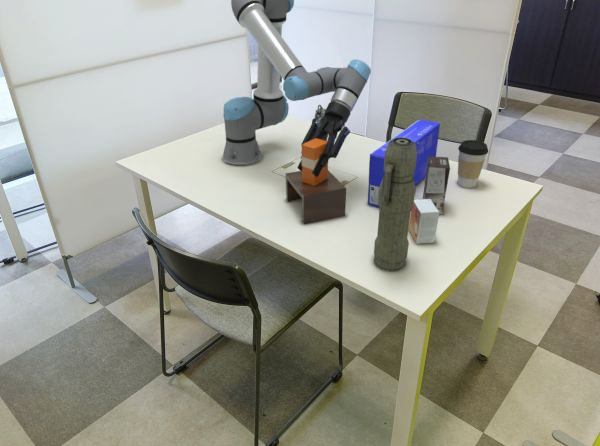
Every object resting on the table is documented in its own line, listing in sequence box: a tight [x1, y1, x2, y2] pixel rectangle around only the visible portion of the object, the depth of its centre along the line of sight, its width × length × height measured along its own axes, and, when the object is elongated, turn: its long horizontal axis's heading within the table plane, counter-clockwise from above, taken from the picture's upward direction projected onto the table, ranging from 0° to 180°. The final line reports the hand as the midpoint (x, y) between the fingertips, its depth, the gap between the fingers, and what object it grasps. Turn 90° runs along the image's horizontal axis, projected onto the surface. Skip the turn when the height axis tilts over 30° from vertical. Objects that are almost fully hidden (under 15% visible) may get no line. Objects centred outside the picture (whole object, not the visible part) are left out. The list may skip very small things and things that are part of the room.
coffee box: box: [422, 156, 451, 215], centre depth 154 cm, size 9×6×16 cm
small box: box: [408, 198, 440, 245], centre depth 140 cm, size 8×6×10 cm
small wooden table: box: [285, 169, 347, 225], centre depth 156 cm, size 17×14×10 cm
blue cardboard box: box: [367, 119, 441, 209], centre depth 167 cm, size 39×8×18 cm, turn 145°
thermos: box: [373, 138, 417, 272], centre depth 123 cm, size 9×12×35 cm
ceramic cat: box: [310, 104, 329, 141], centre depth 191 cm, size 20×6×20 cm, turn 164°
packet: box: [301, 138, 329, 186], centre depth 150 cm, size 5×7×12 cm
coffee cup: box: [457, 139, 489, 189], centre depth 168 cm, size 10×10×15 cm
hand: (307, 172), depth 149 cm, fingers closed on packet, 5 cm apart
